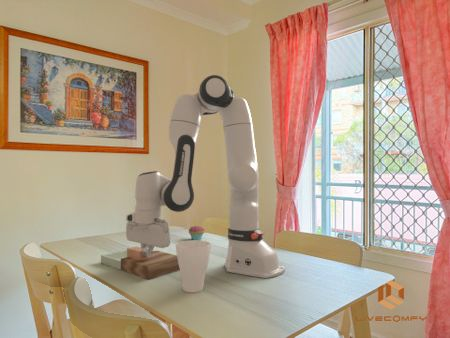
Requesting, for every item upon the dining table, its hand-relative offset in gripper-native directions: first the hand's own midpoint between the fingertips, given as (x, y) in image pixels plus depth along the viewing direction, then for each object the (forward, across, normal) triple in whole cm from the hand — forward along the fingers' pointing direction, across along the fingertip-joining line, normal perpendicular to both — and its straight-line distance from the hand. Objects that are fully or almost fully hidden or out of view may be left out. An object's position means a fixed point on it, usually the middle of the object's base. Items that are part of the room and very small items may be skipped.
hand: (147, 256), depth 111 cm
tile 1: (+1, +7, 0) cm, 8 cm away
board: (+5, +1, -3) cm, 6 cm away
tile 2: (+1, +3, 0) cm, 4 cm away
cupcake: (+5, +24, -51) cm, 57 cm away
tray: (+5, +15, -3) cm, 16 cm away
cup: (+5, -24, +2) cm, 25 cm away
